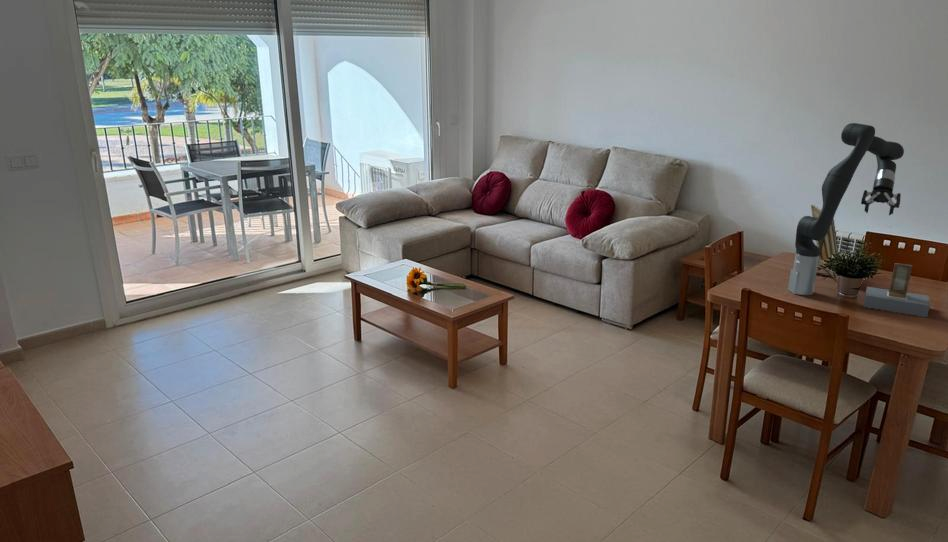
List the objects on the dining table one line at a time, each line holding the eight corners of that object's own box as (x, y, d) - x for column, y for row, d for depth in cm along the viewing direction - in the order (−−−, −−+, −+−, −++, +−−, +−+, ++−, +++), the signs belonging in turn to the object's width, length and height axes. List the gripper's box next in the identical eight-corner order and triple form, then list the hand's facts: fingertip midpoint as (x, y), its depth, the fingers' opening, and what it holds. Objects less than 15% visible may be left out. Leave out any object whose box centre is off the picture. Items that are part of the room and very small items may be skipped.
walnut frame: (888, 291, 280) (894, 261, 276) (905, 294, 277) (911, 263, 273) (888, 295, 275) (894, 265, 271) (905, 298, 272) (912, 267, 268)
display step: (863, 307, 277) (865, 295, 276) (864, 297, 289) (867, 286, 287) (927, 317, 266) (929, 305, 265) (926, 307, 278) (928, 295, 276)
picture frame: (842, 285, 305) (854, 219, 296) (818, 283, 307) (829, 218, 298) (822, 265, 336) (832, 205, 327) (800, 263, 338) (810, 204, 329)
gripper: (866, 175, 295) (860, 206, 289) (904, 178, 288) (899, 209, 282) (864, 186, 301) (858, 216, 295) (901, 189, 294) (896, 220, 288)
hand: (878, 213), depth 288 cm, fingers open, 8 cm apart
